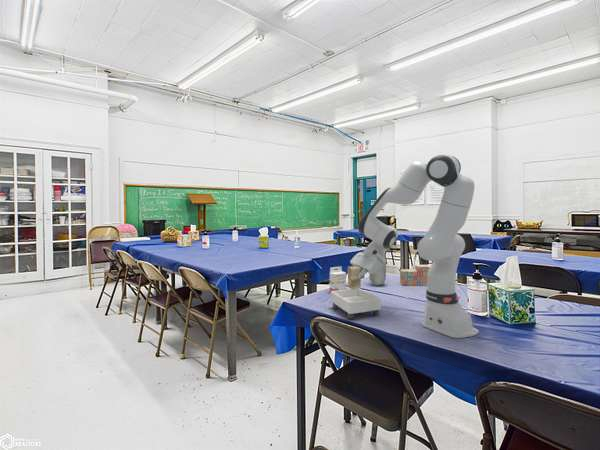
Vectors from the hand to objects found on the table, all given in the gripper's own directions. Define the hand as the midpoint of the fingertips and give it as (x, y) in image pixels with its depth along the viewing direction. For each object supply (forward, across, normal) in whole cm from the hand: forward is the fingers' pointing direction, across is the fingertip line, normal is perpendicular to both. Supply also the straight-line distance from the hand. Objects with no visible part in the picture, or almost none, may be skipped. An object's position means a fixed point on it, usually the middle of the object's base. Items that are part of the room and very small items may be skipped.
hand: (354, 275), depth 157 cm
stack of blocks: (-30, -28, +56) cm, 69 cm away
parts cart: (+13, 0, +12) cm, 18 cm away
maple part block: (+4, 0, +4) cm, 6 cm away
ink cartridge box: (+8, -32, +18) cm, 38 cm away
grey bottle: (-13, -37, +39) cm, 56 cm away
